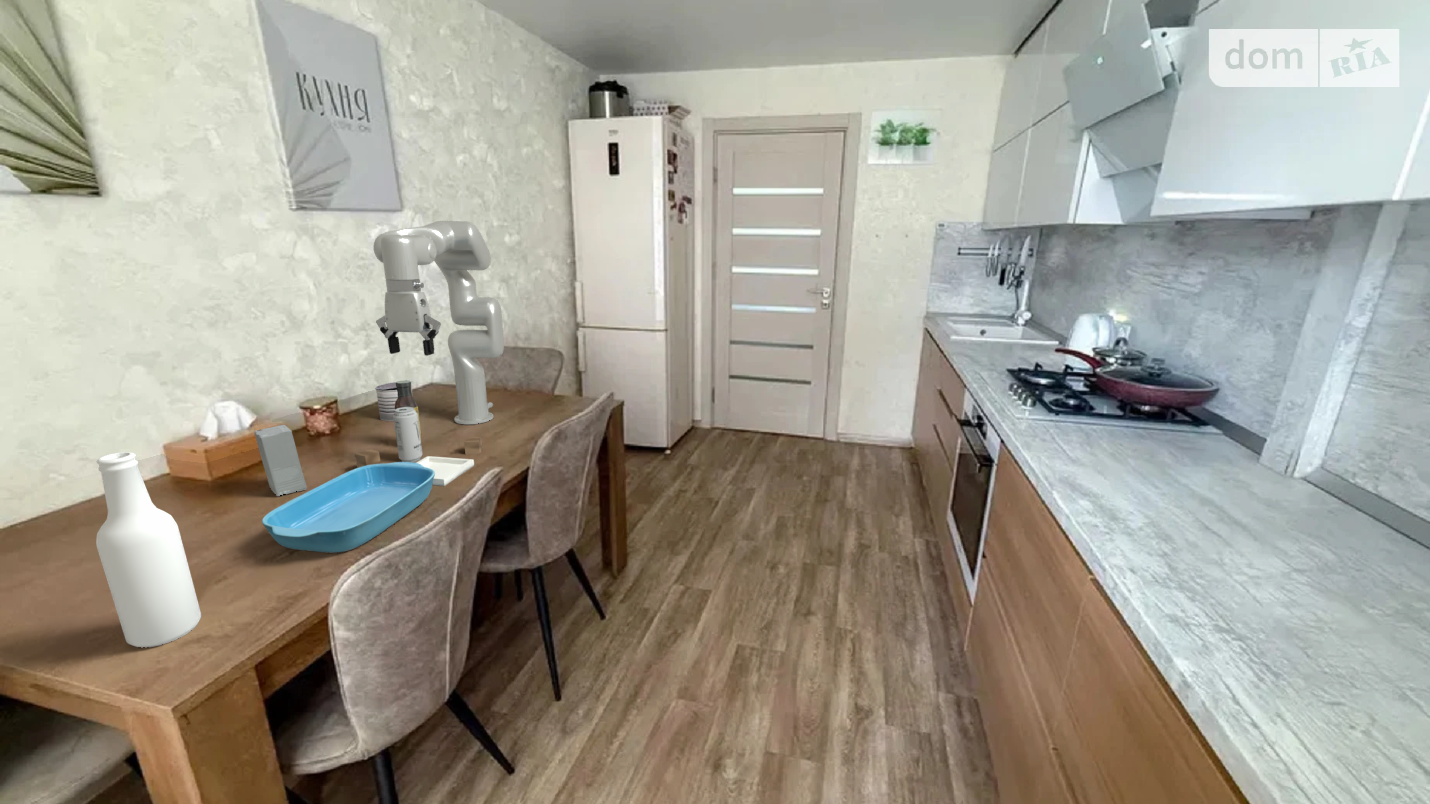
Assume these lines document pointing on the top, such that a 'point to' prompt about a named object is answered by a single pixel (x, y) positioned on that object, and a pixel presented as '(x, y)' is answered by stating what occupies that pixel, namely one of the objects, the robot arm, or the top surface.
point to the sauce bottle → (405, 397)
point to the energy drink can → (407, 434)
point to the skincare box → (280, 460)
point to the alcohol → (143, 559)
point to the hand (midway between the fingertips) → (412, 353)
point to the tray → (446, 468)
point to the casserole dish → (350, 507)
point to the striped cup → (387, 400)
